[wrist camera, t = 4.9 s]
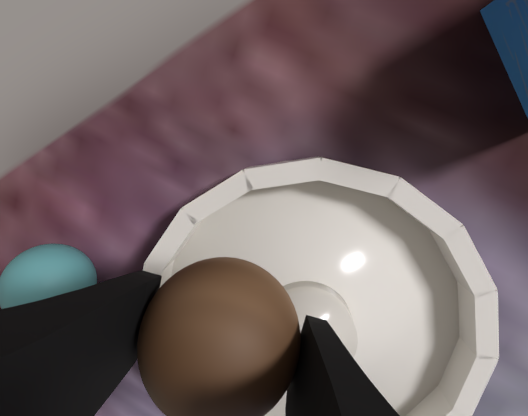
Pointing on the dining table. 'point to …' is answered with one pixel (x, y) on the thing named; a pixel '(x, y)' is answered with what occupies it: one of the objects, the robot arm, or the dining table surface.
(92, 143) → the dining table surface
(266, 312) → the walnut bead
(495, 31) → the perfume bottle
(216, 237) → the tray
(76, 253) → the teal bead
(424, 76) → the dining table surface
